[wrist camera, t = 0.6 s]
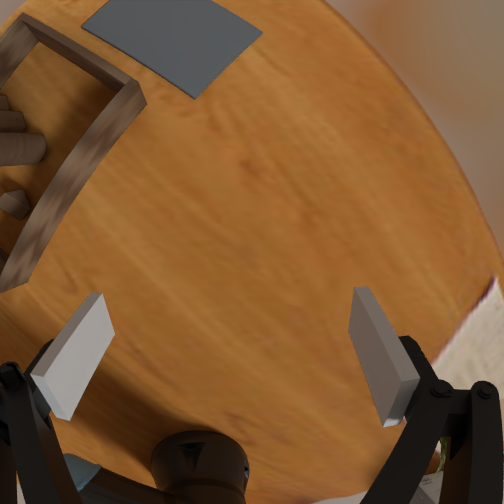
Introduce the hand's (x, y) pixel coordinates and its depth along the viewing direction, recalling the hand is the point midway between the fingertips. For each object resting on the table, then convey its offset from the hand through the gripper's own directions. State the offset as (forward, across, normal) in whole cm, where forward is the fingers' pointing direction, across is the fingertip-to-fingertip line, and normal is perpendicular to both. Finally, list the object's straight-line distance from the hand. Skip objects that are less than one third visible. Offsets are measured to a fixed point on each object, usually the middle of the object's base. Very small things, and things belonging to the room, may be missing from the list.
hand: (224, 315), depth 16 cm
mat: (+30, +9, -25) cm, 40 cm away
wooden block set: (+22, +30, -10) cm, 38 cm away
